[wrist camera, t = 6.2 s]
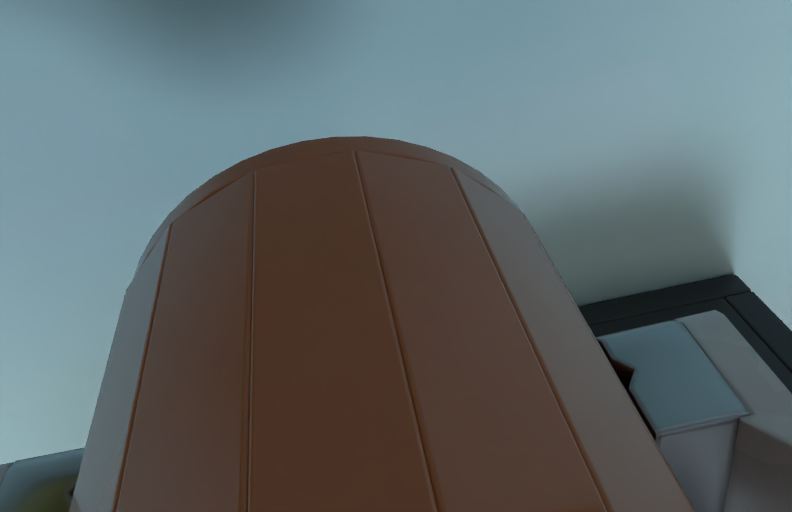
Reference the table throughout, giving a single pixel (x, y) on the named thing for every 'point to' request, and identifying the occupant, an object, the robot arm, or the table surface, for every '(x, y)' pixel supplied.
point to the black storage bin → (727, 295)
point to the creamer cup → (360, 353)
